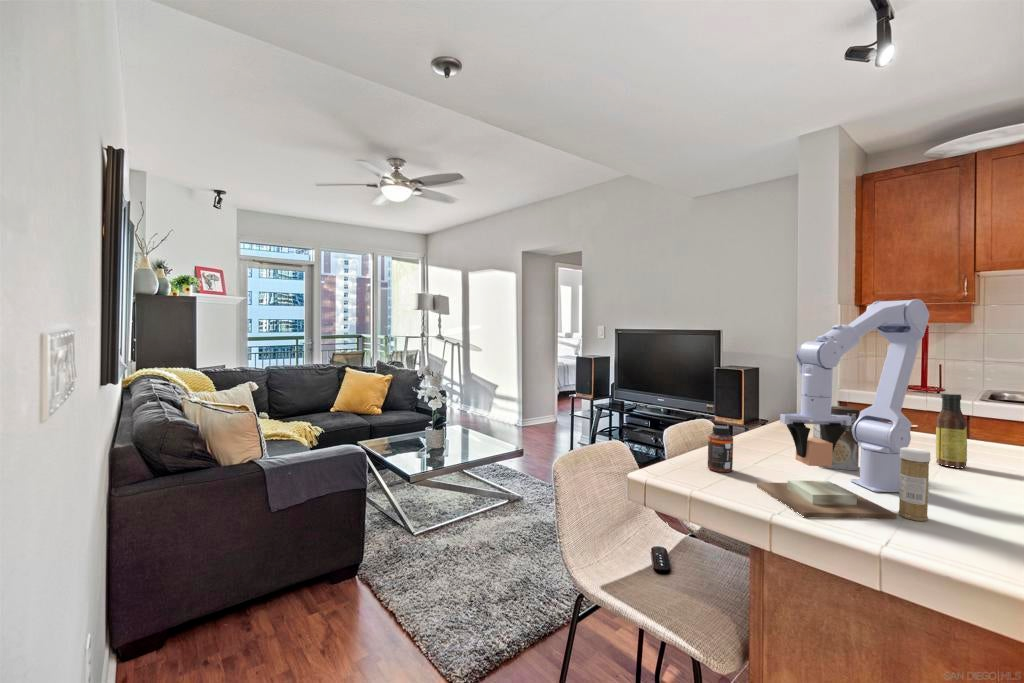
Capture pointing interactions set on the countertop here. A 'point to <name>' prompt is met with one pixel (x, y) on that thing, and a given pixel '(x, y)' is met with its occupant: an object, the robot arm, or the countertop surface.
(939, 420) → the sauce bottle
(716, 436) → the supplement bottle
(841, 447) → the coffee box
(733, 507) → the countertop surface
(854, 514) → the walnut base board
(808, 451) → the terracotta cube
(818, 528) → the countertop surface
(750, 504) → the countertop surface
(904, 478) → the sprinkles bottle
